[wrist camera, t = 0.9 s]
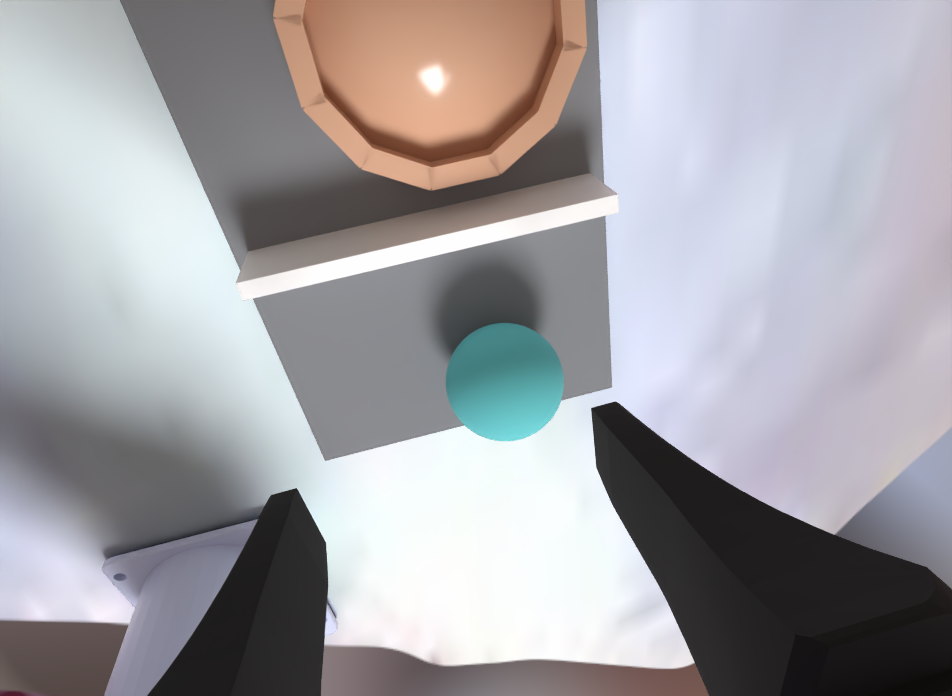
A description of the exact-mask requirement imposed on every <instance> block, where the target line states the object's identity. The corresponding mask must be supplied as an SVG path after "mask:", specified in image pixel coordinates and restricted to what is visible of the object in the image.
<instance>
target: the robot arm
mask: <svg viewBox="0 0 952 696" xmlns="http://www.w3.org/2000/svg"><path fill="white" fill-rule="evenodd" d="M591 411H592V422H593V433H594V445H595V456H596V467H597V470H598V472H599V475H600V477H601V479H602V482H603V484H604V487H605V489H606V491H607V493H608V496H609V498H610V500H611V503H612V505H613V506H614V508H615V510H616V512H617V514H618V515H619V517H620V519H621V521H622V522H623V524H624V526H625V528H626V529H627V531H628V533H629V535H630V536H631V538H632V540H633V541H634V543H635V545H636V547H637V548H638V550H639V552H640V554H641V555H642V557H643V559H644V560H645V562H646V564H647V566H648V567H649V569H650V571H651V573H652V574H653V576H654V578H655V579H656V581H657V583H658V585H659V587H660V589H661V590H662V592H663V594H664V596H665V598H666V600H667V602H668V604H669V606H670V608H671V611H672V613H673V615H674V617H675V619H676V622H677V624H678V626H679V628H680V630H681V632H682V635H683V637H684V639H685V641H686V643H687V646H688V648H689V650H690V653H691V655H692V657H693V659H694V662H695V664H696V666H697V668H698V671H699V673H700V675H701V677H702V680H703V682H704V684H705V686H706V689H707V691H708V694H709V696H952V589H951V588H950V587H949V586H947V584H945V583H944V582H943V581H942V580H941V579H940V578H938V577H937V576H936V575H935V574H934V573H933V572H932V571H930V570H929V569H928V568H927V567H924V566H921V565H918V564H915V563H912V562H909V561H906V560H903V559H900V558H897V557H894V556H891V555H888V554H885V553H882V552H879V551H876V550H873V549H870V548H867V547H864V546H862V545H859V544H856V543H854V542H851V541H849V540H846V539H844V538H841V537H838V536H836V535H833V534H831V533H828V532H826V531H824V530H821V529H819V528H816V527H814V526H812V525H810V524H808V523H805V522H803V521H801V520H799V519H797V518H794V517H792V516H790V515H788V514H786V513H783V512H781V511H779V510H777V509H775V508H773V507H771V506H769V505H767V504H765V503H763V502H761V501H759V500H758V499H756V498H754V497H752V496H750V495H748V494H747V493H745V492H743V491H741V490H739V489H738V488H736V487H734V486H733V485H731V484H729V483H728V482H726V481H724V480H723V479H721V478H719V477H718V476H716V475H715V474H713V473H712V472H710V471H708V470H707V469H705V468H704V467H702V466H701V465H699V464H698V463H696V462H695V461H693V460H692V459H690V458H689V457H687V456H686V455H685V454H683V453H682V452H681V451H679V450H678V449H676V448H675V447H674V446H672V445H671V444H669V443H668V442H667V441H665V440H664V439H663V438H661V437H660V436H659V435H657V434H656V433H655V432H654V431H652V430H651V429H650V428H648V427H647V426H646V425H645V424H643V423H642V422H641V421H640V420H638V419H637V418H636V417H635V416H633V415H632V414H631V413H630V412H629V411H627V410H626V409H625V408H624V407H623V406H621V405H620V404H619V403H617V402H612V403H608V404H605V405H601V406H597V407H594V408H591ZM102 571H103V573H104V574H105V575H106V576H107V577H108V578H109V579H110V581H111V582H112V583H113V584H114V585H115V586H116V587H117V588H118V589H119V591H120V592H121V593H122V594H123V595H124V596H125V597H126V598H127V600H128V601H129V602H130V603H131V604H132V605H133V606H134V607H135V609H134V612H133V615H132V618H131V621H130V623H129V626H128V629H127V632H126V635H125V638H124V640H123V644H122V646H121V649H120V652H119V655H118V658H117V661H116V663H115V666H114V669H113V672H112V675H111V678H110V680H109V683H108V686H107V689H106V692H105V695H104V696H321V678H322V664H323V651H324V638H325V636H327V635H331V634H333V633H335V632H336V631H337V629H338V623H337V620H336V618H335V617H334V615H333V613H332V611H331V609H330V608H329V606H328V604H327V595H328V570H327V553H326V542H325V540H324V538H323V537H322V535H321V533H320V531H319V529H318V527H317V525H316V523H315V522H314V520H313V518H312V516H311V514H310V512H309V510H308V508H307V506H306V505H305V503H304V501H303V499H302V497H301V495H300V493H299V491H298V490H297V488H296V489H292V490H288V491H285V492H281V493H277V494H274V495H271V496H270V498H269V499H268V501H267V503H266V505H265V507H264V509H263V511H262V513H261V515H260V517H259V519H256V520H252V521H248V522H244V523H241V524H237V525H233V526H229V527H225V528H221V529H218V530H214V531H210V532H206V533H202V534H198V535H195V536H191V537H187V538H183V539H179V540H175V541H172V542H168V543H164V544H160V545H156V546H152V547H149V548H145V549H141V550H137V551H133V552H129V553H126V554H122V555H118V556H114V557H111V558H108V559H107V560H106V561H105V562H104V565H103V567H102Z"/></svg>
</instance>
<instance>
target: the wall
mask: <svg viewBox="0 0 952 696" xmlns="http://www.w3.org/2000/svg"><path fill="white" fill-rule="evenodd" d="M615 213H619V210H618V194H617V193H616V192H614V191H613V190H612V189H610V188H609V187H608V186H606V185H605V184H604V183H602V182H601V181H600V180H598V179H597V178H596V177H594V176H593V175H592V174H590V173H588V174H583V175H579V176H575V177H570V178H566V179H562V180H557V181H553V182H548V183H544V184H540V185H535V186H531V187H527V188H522V189H518V190H514V191H509V192H505V193H501V194H496V195H492V196H487V197H483V198H479V199H474V200H470V201H466V202H461V203H457V204H453V205H448V206H444V207H440V208H435V209H431V210H426V211H422V212H418V213H413V214H409V215H405V216H400V217H396V218H392V219H387V220H383V221H379V222H374V223H370V224H365V225H361V226H357V227H352V228H348V229H344V230H339V231H335V232H331V233H326V234H322V235H318V236H313V237H309V238H305V239H300V240H296V241H291V242H287V243H283V244H278V245H274V246H270V247H265V248H261V249H257V250H252V251H248V253H247V256H246V258H245V261H244V263H243V266H242V268H241V271H240V273H239V276H238V278H237V281H236V286H237V288H238V290H239V292H240V294H241V297H242V299H243V301H245V300H249V299H253V298H257V297H262V296H266V295H270V294H274V293H279V292H283V291H287V290H291V289H296V288H300V287H304V286H308V285H313V284H317V283H321V282H325V281H330V280H334V279H338V278H342V277H347V276H351V275H355V274H360V273H364V272H368V271H372V270H377V269H381V268H385V267H389V266H394V265H398V264H402V263H406V262H411V261H415V260H419V259H423V258H428V257H432V256H436V255H440V254H445V253H449V252H453V251H457V250H462V249H466V248H470V247H474V246H479V245H483V244H487V243H491V242H496V241H500V240H504V239H508V238H513V237H517V236H521V235H525V234H530V233H534V232H538V231H542V230H547V229H551V228H555V227H559V226H564V225H568V224H572V223H576V222H581V221H585V220H589V219H593V218H598V217H602V216H606V215H610V214H615Z"/></svg>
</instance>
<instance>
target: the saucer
mask: <svg viewBox="0 0 952 696" xmlns="http://www.w3.org/2000/svg"><path fill="white" fill-rule="evenodd" d="M273 17H275V18H274V19H273V20H274V23H275V26H276V29H277V33H278V36H279V39H280V42H281V45H282V48H283V51H284V54H285V58H286V61H287V64H288V67H289V70H290V73H291V76H292V79H293V83H294V86H295V89H296V92H297V95H298V98H299V101H300V104H301V108H303V111H304V112H305V113H306V114H307V115H308V116H309V117H310V118H311V119H312V120H313V121H314V122H315V123H316V124H317V125H318V126H319V127H320V128H321V129H322V130H323V131H324V132H325V133H326V134H327V135H328V136H329V137H330V138H331V139H332V140H333V141H334V142H335V143H336V144H337V145H338V146H339V147H340V148H341V150H342V151H343V152H344V153H345V154H346V155H347V156H348V157H349V158H350V159H351V160H352V161H353V162H354V163H355V164H356V165H357V166H358V167H359V168H361V169H362V170H365V171H369V172H372V173H375V174H378V175H381V176H385V177H388V178H391V179H394V180H398V181H401V182H404V183H407V184H410V185H414V186H417V187H420V188H423V189H427V190H432V191H433V190H437V189H442V188H446V187H451V186H455V185H459V184H464V183H468V182H473V181H477V180H481V179H486V178H490V177H495V176H499V173H500V174H502V173H503V172H504V171H505V170H507V169H508V168H509V167H510V166H511V165H512V164H513V163H514V162H515V161H517V160H518V159H519V158H520V157H521V156H522V155H523V154H524V153H526V152H527V151H528V150H529V149H530V148H531V147H532V146H533V145H535V144H536V143H537V142H538V141H539V140H540V139H541V138H542V137H544V136H545V135H546V134H547V133H548V132H549V131H550V130H551V129H552V128H554V127H555V125H554V124H557V121H558V119H559V116H560V114H561V112H562V109H563V107H564V104H565V102H566V99H567V97H568V94H569V92H570V89H571V87H572V84H573V82H574V79H575V77H576V74H577V72H578V69H579V67H580V64H581V62H582V59H583V57H584V55H585V52H586V50H587V49H586V48H584V47H587V34H586V13H585V0H276V1H275V7H274V13H273Z"/></svg>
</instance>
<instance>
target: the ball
mask: <svg viewBox="0 0 952 696" xmlns="http://www.w3.org/2000/svg"><path fill="white" fill-rule="evenodd" d="M563 389H564V375H563V370H562V365H561V363H560V360H559V358H558V355H557V354H556V352H555V350H554V349H553V347H552V346H551V345H550V344H549V342H548V341H547V340H546V339H545V338H543V337H542V336H541V335H540V334H538V333H537V332H535V331H534V330H532V329H530V328H527V327H525V326H522V325H518V324H513V323H496V324H491V325H487V326H484V327H482V328H479V329H477V330H476V331H474V332H472V333H471V334H469V335H468V336H467V337H466V338H465V339H464V340H462V342H461V343H460V344H459V345H458V346H457V348H456V349H455V351H454V352H453V354H452V356H451V358H450V361H449V364H448V367H447V372H446V391H447V397H448V400H449V402H450V405H451V407H452V409H453V411H454V413H455V414H456V416H457V417H458V419H459V420H460V421H461V422H462V423H463V424H464V425H465V426H466V427H467V428H468V429H470V430H471V431H473V432H474V433H476V434H478V435H480V436H482V437H485V438H488V439H491V440H496V441H514V440H519V439H523V438H526V437H528V436H530V435H532V434H534V433H536V432H537V431H539V430H540V429H541V428H543V427H544V426H545V425H546V424H547V423H548V422H549V421H550V420H551V418H552V417H553V416H554V414H555V412H556V411H557V409H558V407H559V405H560V402H561V399H562V395H563Z"/></svg>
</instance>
